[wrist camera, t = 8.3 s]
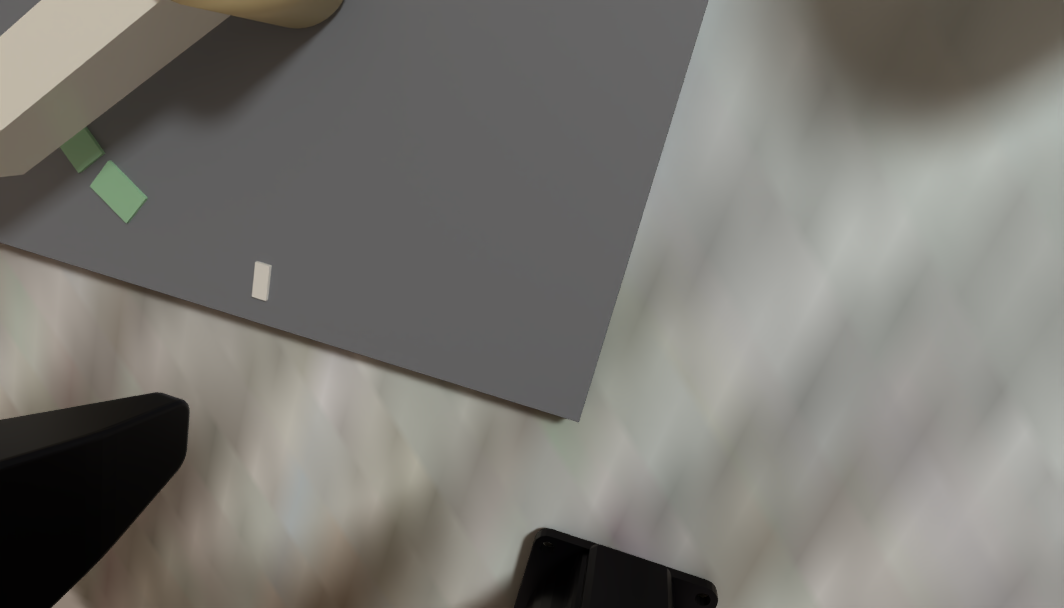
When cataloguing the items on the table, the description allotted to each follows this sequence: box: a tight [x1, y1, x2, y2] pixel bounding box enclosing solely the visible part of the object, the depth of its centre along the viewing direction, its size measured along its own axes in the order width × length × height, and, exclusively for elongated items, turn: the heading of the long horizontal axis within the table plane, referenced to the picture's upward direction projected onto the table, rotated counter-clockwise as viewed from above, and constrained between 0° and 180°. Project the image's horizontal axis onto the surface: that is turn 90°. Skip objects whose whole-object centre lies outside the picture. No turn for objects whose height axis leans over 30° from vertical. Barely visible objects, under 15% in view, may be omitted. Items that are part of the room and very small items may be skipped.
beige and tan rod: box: [0, 0, 343, 177], centre depth 16 cm, size 12×4×4 cm, turn 119°
